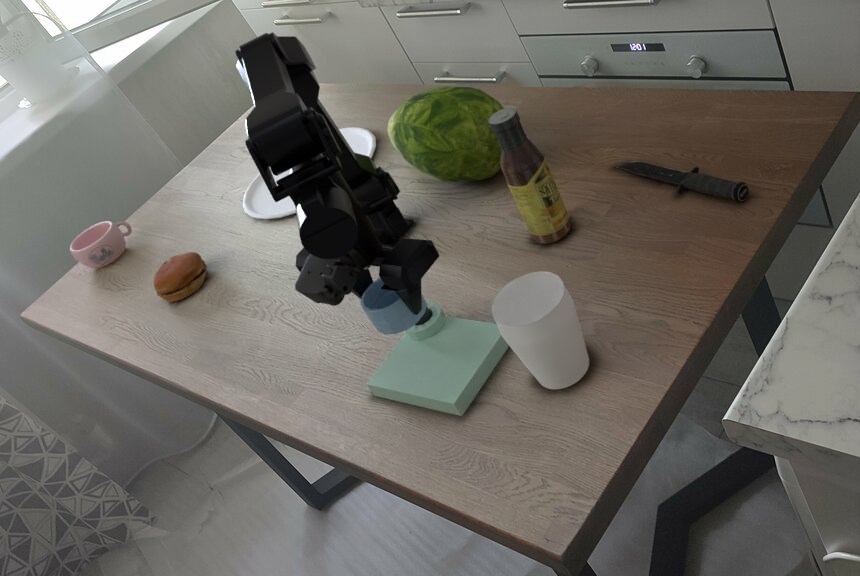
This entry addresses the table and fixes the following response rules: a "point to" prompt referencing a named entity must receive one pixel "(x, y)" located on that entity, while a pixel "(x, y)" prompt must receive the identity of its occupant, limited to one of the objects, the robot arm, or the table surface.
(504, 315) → the cup
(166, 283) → the burger
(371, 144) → the plate
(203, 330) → the table surface
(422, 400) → the scale
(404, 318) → the bowl
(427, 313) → the tare button
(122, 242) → the mug
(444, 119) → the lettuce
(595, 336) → the table surface
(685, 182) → the knife
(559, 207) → the sauce bottle
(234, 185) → the table surface
